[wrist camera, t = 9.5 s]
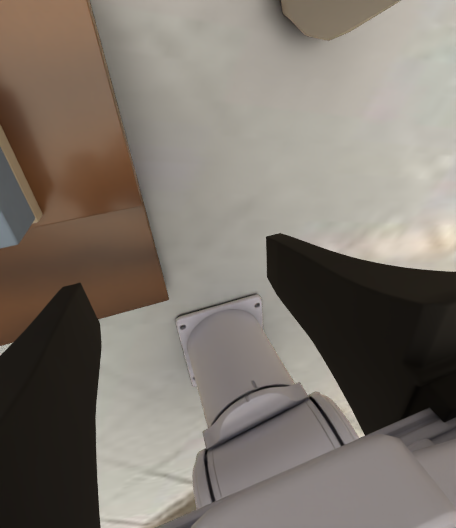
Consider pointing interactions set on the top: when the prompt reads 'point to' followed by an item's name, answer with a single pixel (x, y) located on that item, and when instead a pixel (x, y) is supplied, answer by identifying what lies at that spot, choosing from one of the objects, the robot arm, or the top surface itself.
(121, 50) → the top surface
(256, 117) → the top surface
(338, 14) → the salt shaker
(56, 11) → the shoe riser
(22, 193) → the blue stepped block
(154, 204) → the top surface
